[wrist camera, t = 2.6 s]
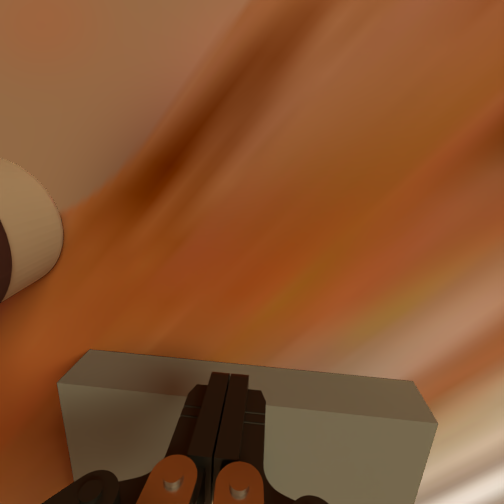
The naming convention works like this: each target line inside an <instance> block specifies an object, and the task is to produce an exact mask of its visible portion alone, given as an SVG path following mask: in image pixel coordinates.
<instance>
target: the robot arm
mask: <svg viewBox="0 0 504 504" xmlns="http://www.w3.org/2000/svg"><path fill="white" fill-rule="evenodd" d="M248 387H249V375H243V374H233V373H231V376H230V373H222V372H212V373H211V376H210V379H209V383H208V385H201V384H197V385H196V386H195V387H194V388H193V389H192V390H191V391H190V392H189V393H188V395H187V398H186V401H185V404H184V407H183V409H182V412H181V414H180V417H179V420H178V423H177V425H176V428H175V431H174V433H173V436H172V439H171V442H170V444H169V447H168V450H167V452H166V455H165V457H164V459H162V460H161V461H159V462H158V463H157V464H156V465H155V467H154V468H153V469H152V471H151V472H149V473H147V474H145V475H143V476H140V477H137V478H132V479H128V480H123V481H119V482H118V479H117V477H116V476H115V474H114V473H112V472H110V471H108V470H96V471H93V472H90V473H88V474H86V475H84V476H82V477H81V478H79V479H78V480H76V481H75V482H73V483H72V484H70V485H69V486H67V487H66V488H64V489H63V490H61V491H60V492H58V493H57V494H55V495H54V496H52V497H51V498H49V499H48V500H46V501H45V502H43V503H42V504H212V502H213V504H329V503H327V502H326V501H325V500H323V499H322V498H319V497H317V496H313V495H306V496H302V497H300V498H298V499H297V500H293V499H291V498H289V497H287V496H285V495H283V494H281V493H280V492H278V491H277V490H275V489H274V488H273V487H272V486H271V484H270V483H269V482H268V480H267V478H266V475H265V473H264V439H265V413H266V400H265V398H264V396H263V394H262V391H261V390H252V389H248Z"/></svg>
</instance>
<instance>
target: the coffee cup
mask: <svg viewBox="0 0 504 504" xmlns="http://www.w3.org/2000/svg"><path fill="white" fill-rule="evenodd" d="M62 245H63V226H62V220H61V217H60V214H59V211H58V208H57V206H56V204H55V202H54V200H53V199H52V197H51V196H50V194H49V193H48V191H47V190H46V189H45V187H44V186H43V185H42V184H41V183H40V182H39V181H38V180H37V179H36V178H35V177H34V176H33V175H32V174H30V173H29V172H28V171H26V170H25V169H23V168H22V167H20V166H18V165H17V164H15V163H13V162H10V161H8V160H5V159H3V158H0V303H1V302H3V301H4V300H6V299H8V298H9V297H11V296H12V295H14V294H16V293H17V292H19V291H21V290H22V289H24V288H26V287H27V286H29V285H30V284H32V283H34V282H35V281H37V280H39V279H40V278H41V277H43V276H44V275H46V274H47V273H48V272H49V271H50V270H51V269H52V268H53V266H54V265H55V263H56V262H57V260H58V258H59V256H60V253H61V249H62Z"/></svg>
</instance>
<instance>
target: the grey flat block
mask: <svg viewBox="0 0 504 504" xmlns="http://www.w3.org/2000/svg"><path fill="white" fill-rule="evenodd" d="M212 372H222V373H230V376H231V373H233V374H243V375H249V387H248V389H252V390H261V391H262V394H263V396H264V398H265V400H266V413H265V439H264V473H265V475H266V478H267V480H268V482H269V483H270V484H271V486H272V487H273V488H274V489H275V490H277V491H278V492H280V493H281V494H283V495H285V496H287V497H289V498H291V499H293V500H297V499H298V498H300V497H302V496H306V495H313V496H317V497H319V498H322V499H323V500H325V501H326V502H327V503H329V504H414V502H415V499H416V496H417V492H418V489H419V486H420V482H421V479H422V476H423V472H424V469H425V466H426V463H427V459H428V456H429V453H430V449H431V446H432V443H433V439H434V436H435V433H436V430H437V426H438V422H437V421H436V419H435V417H434V416H433V414H432V412H431V411H430V409H429V407H428V406H427V404H426V402H425V401H424V399H423V397H422V396H421V394H420V392H419V391H418V389H417V387H416V386H415V384H414V382H413V381H404V380H394V379H384V378H374V377H364V376H354V375H344V374H333V373H323V372H313V371H303V370H293V369H283V368H273V367H262V366H252V365H242V364H232V363H222V362H212V361H202V360H191V359H181V358H171V357H161V356H151V355H141V354H131V353H120V352H110V351H100V350H89V351H88V352H87V353H86V354H85V355H84V356H83V357H82V358H81V359H80V360H79V361H78V362H77V363H76V364H75V365H74V366H73V367H72V368H71V369H70V370H69V371H68V372H67V373H66V374H65V375H64V376H63V377H62V378H61V379H60V380H59V381H58V382H57V387H58V392H59V398H60V404H61V410H62V415H63V421H64V427H65V432H66V438H67V444H68V450H69V455H70V461H71V467H72V472H73V478H74V482H75V481H76V480H78V479H79V478H81V477H82V476H84V475H86V474H88V473H90V472H93V471H96V470H108V471H110V472H112V473H114V474H115V476H116V477H117V479H118V482H119V481H123V480H128V479H132V478H137V477H140V476H143V475H145V474H147V473H149V472H151V471H152V469H153V468H154V467H155V465H156V464H157V463H158V462H159V461H161V460H162V459H164V457H165V455H166V452H167V450H168V447H169V444H170V442H171V439H172V436H173V433H174V431H175V428H176V425H177V423H178V420H179V417H180V414H181V412H182V409H183V407H184V404H185V401H186V398H187V395H188V393H189V392H190V391H191V390H192V389H193V388H194V387H195V386H196V385H197V384H201V385H208V383H209V379H210V376H211V373H212Z"/></svg>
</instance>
